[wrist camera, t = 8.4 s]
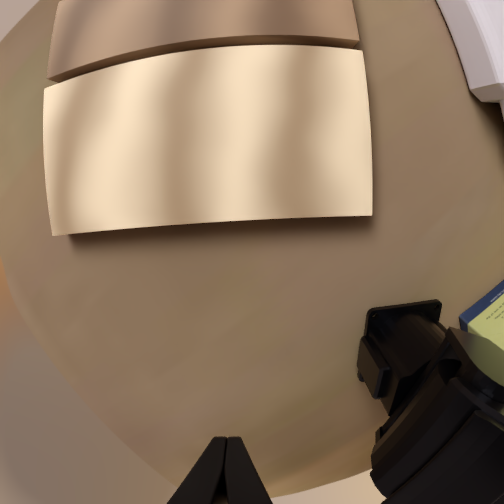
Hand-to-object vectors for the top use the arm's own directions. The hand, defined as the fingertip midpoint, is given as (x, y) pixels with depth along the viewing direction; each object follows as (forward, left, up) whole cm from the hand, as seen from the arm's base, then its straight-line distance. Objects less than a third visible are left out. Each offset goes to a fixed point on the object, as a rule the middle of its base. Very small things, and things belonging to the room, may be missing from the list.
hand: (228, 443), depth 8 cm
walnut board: (+2, -19, -12) cm, 23 cm away
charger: (-22, -16, -12) cm, 30 cm away
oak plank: (+2, -10, -12) cm, 16 cm away
